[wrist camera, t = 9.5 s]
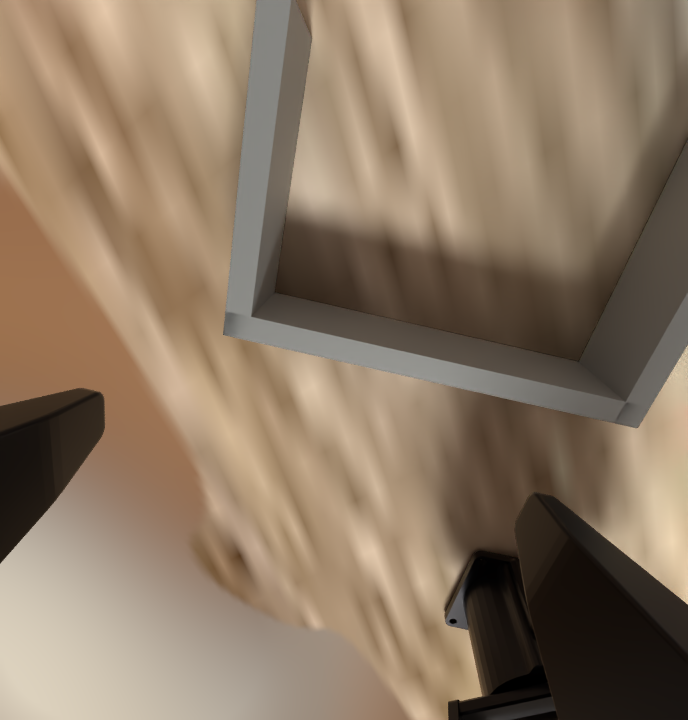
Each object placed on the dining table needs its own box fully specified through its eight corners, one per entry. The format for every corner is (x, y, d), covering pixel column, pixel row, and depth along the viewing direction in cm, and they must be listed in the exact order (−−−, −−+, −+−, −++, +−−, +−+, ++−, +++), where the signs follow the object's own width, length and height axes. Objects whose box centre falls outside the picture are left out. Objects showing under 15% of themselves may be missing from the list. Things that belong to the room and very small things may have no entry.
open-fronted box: (589, 384, 20) (637, 428, 16) (251, 307, 20) (223, 334, 16) (717, 135, 16) (822, 120, 12) (286, 32, 15) (258, -17, 12)
